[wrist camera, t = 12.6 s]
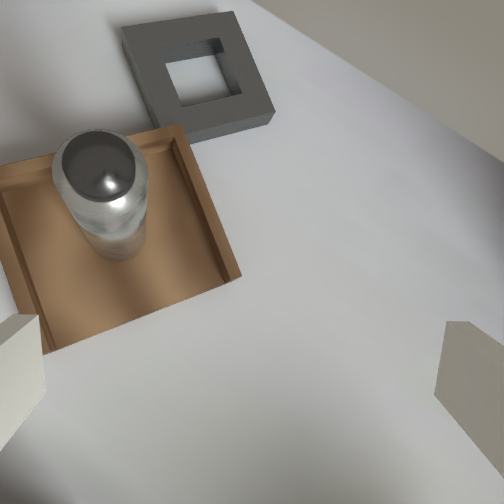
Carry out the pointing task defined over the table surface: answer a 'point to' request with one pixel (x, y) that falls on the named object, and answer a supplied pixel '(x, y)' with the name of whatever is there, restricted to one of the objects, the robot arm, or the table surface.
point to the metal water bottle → (105, 190)
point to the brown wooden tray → (97, 268)
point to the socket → (192, 46)
